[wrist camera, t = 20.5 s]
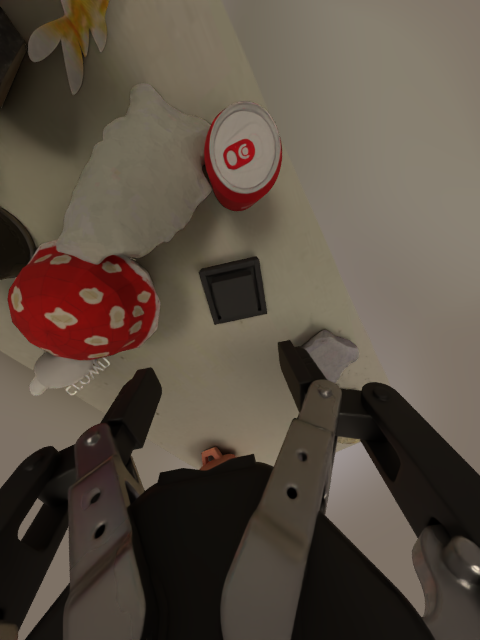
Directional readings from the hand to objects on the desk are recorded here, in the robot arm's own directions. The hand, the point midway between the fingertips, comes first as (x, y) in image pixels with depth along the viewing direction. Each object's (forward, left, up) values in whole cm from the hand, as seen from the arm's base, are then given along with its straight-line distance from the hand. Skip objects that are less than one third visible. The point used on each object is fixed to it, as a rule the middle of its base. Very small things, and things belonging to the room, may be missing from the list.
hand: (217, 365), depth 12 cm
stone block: (+14, -18, -20) cm, 31 cm away
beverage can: (+5, +12, -20) cm, 24 cm away
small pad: (+2, -2, -19) cm, 19 cm away
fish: (-6, +25, -20) cm, 33 cm away
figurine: (-26, -6, -20) cm, 33 cm away
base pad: (+2, -2, -20) cm, 20 cm away
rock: (+1, +20, -20) cm, 28 cm away
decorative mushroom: (-14, +3, -20) cm, 24 cm away
